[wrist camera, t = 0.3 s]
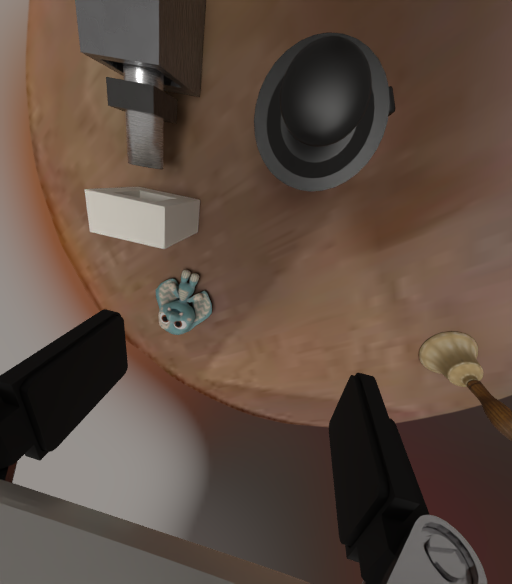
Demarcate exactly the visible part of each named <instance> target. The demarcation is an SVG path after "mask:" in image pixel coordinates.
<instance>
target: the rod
mask: <svg viewBox="0 0 512 584" xmlns="http://www.w3.org/2000/svg"><path fill="white" fill-rule="evenodd" d="M123 72H124V80H121V79H115V78H109V77H106V83H107V96H108V106H111V107H114V108H117V109H119V110H122V111H125V112H126V131H127V151H128V163H129V164H133V165H137V166H143V167H149V168H155V169H163V121H165V122H170V123H175V124H177V100H176V99H175V98H173V97H172V96H170V95H168V94H167V93H165V92H164V74H163V73H161V72H160V71H159V70H157V69H156V68H150V67H144V66H138V65H132V64H126V63H123Z"/></svg>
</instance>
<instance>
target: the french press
mask: <svg viewBox="0 0 512 584" xmlns="http://www.w3.org/2000/svg"><path fill="white" fill-rule="evenodd" d="M394 111H395V103H394V95H393V88H392V86H390V87H388V83H387V79H386V74H385V72H384V70H383V68H382V65H381V63H380V61H379V59H378V58H377V57H376V55H375V54H374V53H373V52H372V51H371V49H370V48H369V47H368V46H366V45H365V44H363V43H362V42H361V41H359V40H358V39H356V38H354V37H351V36H348V35H345V34H340V33H323V34H317V35H313V36H311V37H308V38H306V39H304V40H301V41H299V42H298V43H296V44H295V45H294V46H292V47H291V48H289V49H288V50H287V51H286V52H285V53H284V54H283V55H282V56H281V57H280V58H279V59H278V60H277V61H276V62H275V64H274V65H273V67H272V68H271V70H270V71H269V73H268V74H267V76H266V78H265V80H264V82H263V85H262V87H261V89H260V92H259V95H258V99H257V103H256V108H255V117H254V127H255V138H256V142H257V147H258V150H259V152H260V155H261V157H262V159H263V161H264V163H265V164H266V166H267V167H268V169H269V170H270V172H271V173H272V174H273V175H274V176H275V177H276V178H277V179H279V180H280V181H282V182H283V183H285V184H286V185H288V186H290V187H293V188H296V189H298V190H304V191H322V190H326V189H330V188H334V187H336V186H338V185H340V184H342V183H344V182H346V181H347V180H349V179H350V178H352V177H353V176H354V175H356V174H357V173H358V172H359V171H360V170H361V169H362V168H363V167H364V166H365V165H366V164H367V163H368V161H369V160H370V158H371V157H372V156H373V154H374V153H375V151H376V149H377V147H378V145H379V143H380V141H381V139H382V137H383V134H384V131H385V128H386V125H387V121H388V116H389V115H391V114H392V113H393V112H394Z"/></svg>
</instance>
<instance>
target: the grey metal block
mask: <svg viewBox="0 0 512 584" xmlns="http://www.w3.org/2000/svg"><path fill="white" fill-rule="evenodd" d="M75 4H76V13H77V22H78V31H79V41H80V50H81V52H82V53H84V54H85V55H87V56H89V57H91V58H92V59H94V60H96V61H98V62H99V63H101V64H103V65H105V66H107V67H108V68H110V69H112V70H114V71H115V72H117V73H119V74H121V75H122V76H124V72H123V63H126V64H132V65H138V66H144V67H150V68H156V69H157V70H159V71H160V72H161V73H163V74H164V91H169V92H174V93H180V94H186V95H191V96H197V97H200V90H201V73H202V57H203V40H204V23H205V7H206V0H75Z"/></svg>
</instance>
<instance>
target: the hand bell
mask: <svg viewBox="0 0 512 584" xmlns="http://www.w3.org/2000/svg"><path fill="white" fill-rule="evenodd" d="M477 355H478V347H477V344H476V342H475V341H474V339H473V338H471V337H470V336H468V335H467V334H464V333H461V332H443V333H439V334H437V335H434V336H432V337H431V338H429V339H428V340H427V341H426V342H424V344H423V345H422V347H421V348H420V351H419V359H420V361H421V363H422V365H423V366H424V367H426V368H427V369H429V370H431V371H433V372H436V373H440V374H443V375H444V376H445V377H446V378H447V379H448V380H449V381H450V382H451V383H453V384H454V385H457V386H462V387H466V386H467V387H468V388H469V389H470V390H471V392H472V393H473V394H474V395H475V396H476V397H477V398H478V399H479V401H480V402H481V404H482V406H483V409H484V412H485V414H486V415H487V417H488V418H489V420H490V421H491V423H492V424H493V425H494V426H495V428H496V429H497V430H498V431H499V432H501V433H502V434H503V435H504V436H506V437H507V438H508V439H510V440H511V441H512V410H510V409H509V408H508V407H507V406H506V405H504V404H503V403H501V402H500V401H498V400H497V399H495V398H494V397H493V396H492V395H491V394H490V393H489V392H488V390H487V389H486V388H485V387H484V386H483V384H482V383H481V382H480V380H481V379H482V377H483V369H482V368H481V366H480V365H479V363H478V362H477V360H476V358H477Z"/></svg>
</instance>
